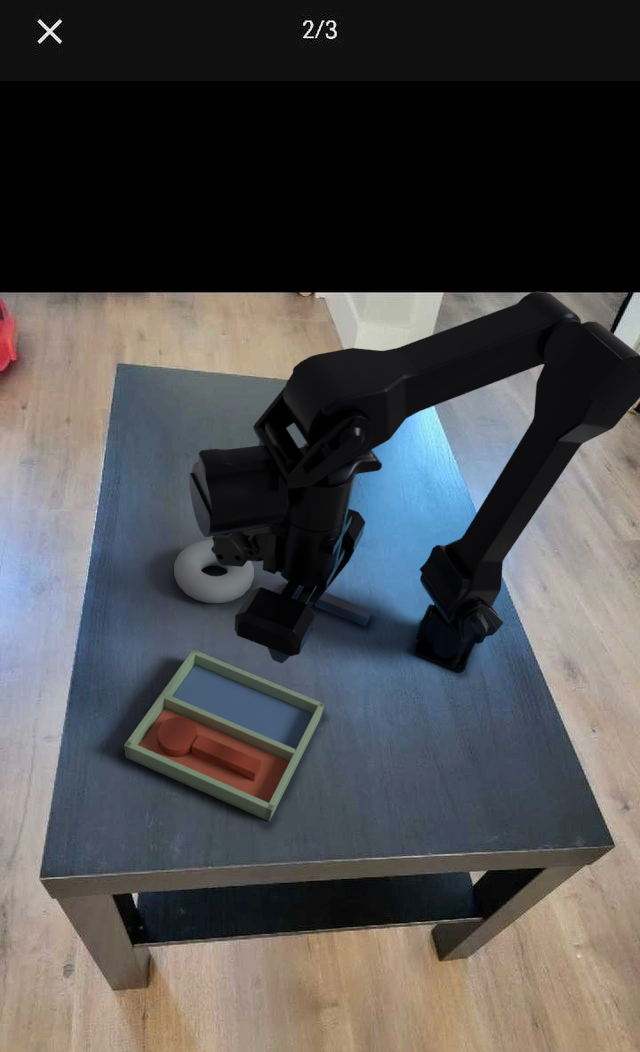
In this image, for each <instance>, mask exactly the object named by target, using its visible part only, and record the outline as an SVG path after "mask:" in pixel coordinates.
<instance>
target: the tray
mask: <svg viewBox="0 0 640 1052" xmlns="http://www.w3.org/2000/svg"><path fill="white" fill-rule="evenodd" d="M324 708H325V703H324V702H321V701H319V700H316V699H314V698H311V697H309V696H306V695H305V694H302V693H299V692H297V691H295V690H292V689H289V688H288V687H285V686H283V685H280V684H278V683H275V682H272V681H270V680H268V679H265V678H263V677H260V676H258V675H256V674H253V673H251V672H249V671H246V670H244V669H242V668H239V667H237V666H234V665H232V664H231V663H230V664H229V663H227V662H224V661H222V660H220V659H217V658H215V657H214V656H213V657H212V656H211V655H208V654H206V653H204V652H201V651H198V650H195V649H191V651H190V652H189V654H188V655H187V657H186V658H185V659H184V661H183V662H182V664H181V665H180V667H179V668H178V669H177V671H176V672H175V673H174V675H173V676H172V677H171V679H170V681H169V682H168V683H167V685H166V686H165V687H164V689H163V690H162V692H161V693H160V694H159V696H158V697H157V699H156V700H155V701H154V703H153V704H152V705H151V707H150V708H149V710H148V711H147V713H146V714H145V715H144V716H143V718H142V719H141V721H140V722H139V724H138V725H137V726H136V728H135V729H134V731H133V732H132V734H131V735H130V736H129V738H128V739H127V740H126V742H125V743H124V745H123V746H124V753H125V754H124V755H125V758H126V759H128V760H130V761H132V762H135V763H138V764H139V765H141V766H145V767H146V768H149V769H151V770H153V771H155V772H157V773H159V774H162V775H165V776H167V777H168V778H171V779H173V780H175V781H178V782H180V783H182V784H184V785H187V786H189V787H191V788H193V789H196V790H198V791H200V792H202V793H204V794H207V795H209V796H212V797H214V798H216V799H218V800H220V801H222V802H224V803H227V804H229V805H232V806H234V807H236V808H238V809H240V810H243V811H245V812H246V813H249V814H252V815H254V816H256V817H258V818H261V819H263V820H265V821H267V822H271V820H272V817H273V816H274V814H275V812H276V810H277V808H278V805H279V804H280V801H281V800H282V797H283V795H284V793H285V792H286V789H287V787H288V785H289V783H290V781H291V779H292V777H293V775H294V773H295V771H296V769H297V766H298V765H299V763H300V761H301V759H302V757H303V755H304V753H305V751H306V749H307V747H308V744H309V742H310V741H311V739H312V737H313V734H314V732H315V730H316V728H317V727H318V724H319V722H320V720H321V718H322V716H323V712H324ZM174 717H183V718H187V719H189V720H190V721H192V722H193V723H194V724H195V726H196V727H197V730H198V735H199V734H200V735H203V736H205V737H207V738H210V739H212V740H214V741H217V742H219V743H221V744H224V745H226V746H228V747H231V748H233V749H235V750H238V751H240V752H242V753H244V754H247V755H249V756H251V757H254V758H256V759H258V760H261V761H262V763H261V769H260V771H259V773H258V775H257V777H256V778H255V780H254V781H252V780H250V779H248V778H245V777H243V776H241V775H238V774H236V773H234V772H232V771H229V770H227V769H225V768H222V767H220V766H218V765H215V764H213V763H211V762H209V761H206V760H204V759H202V758H199V757H197V756H195V755H193V754H192V752H191V753H190V754H188V755H186V756H183V757H171V756H168V755H166V754H165V753H163V752H162V751H161V750H160V748H159V746H158V735H157V734H158V729H159V727H160V725H161V724H162V723H163V722H164V721H166V720H168V719H170V718H174Z"/></svg>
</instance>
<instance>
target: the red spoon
mask: <svg viewBox="0 0 640 1052" xmlns="http://www.w3.org/2000/svg"><path fill="white" fill-rule="evenodd" d="M157 735H158V746H159V748H160V750H161V751H162V752H163V753H165V754H166V755H168V756H171V757H183V756H186V755H188V754H190V753H191V752H192V754H193V755H195V756H197V757H199V758H202V759H204V760H206V761H209V762H211V763H213V764H215V765H218V766H220V767H222V768H225V769H227V770H229V771H232V772H234V773H236V774H238V775H241V776H243V777H245V778H248V779H250V780H252V781H254V780H255V778H256V777H257V775H258V773H259V771H260V769H261V763H262V761H261V760H258V759H256V758H254V757H251V756H249V755H247V754H244V753H242V752H240V751H238V750H235V749H233V748H231V747H228V746H226V745H224V744H221V743H219V742H217V741H214V740H212V739H210V738H207V737H205V736H203V735H200V734H199V735H198V730H197V727H196V726H195V724H194V723H193V722H192V721H190V720H189V719H187V718H183V717H174V718H170V719H168V720H166V721H164V722H163V723H162V724H161V725H160V727H159V729H158V734H157Z"/></svg>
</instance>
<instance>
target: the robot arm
mask: <svg viewBox="0 0 640 1052" xmlns="http://www.w3.org/2000/svg"><path fill="white" fill-rule="evenodd" d="M542 365H543V366H542ZM540 366H542V369H541V371H540V373H539V375H538V378H537V380H536V383H535V384H536V385H535V396H534V397H535V399H534V409H533V410H534V411H533V412H534V413H533V418H532V420H531V422H530V424H529V426H528V428H527V429H526V431H525V432H524V434H523V435H522V437H521V439H520V441H519V442H518V444H517V446H516V447H515V449H514V450H513V452H512V454H511V456H510V458H509V459H508V461H506V464H505V466H504V467H503V469H502V471H501V472H500V474H499V475H498V477H497V478H496V481H495V482H494V484H493V485H492V487H491V489H490V490H489V492H488V494H487V495H486V497H485V499H484V500H483V502H482V504H481V505H480V507H479V509H478V511H477V512H476V514H475V515H474V517H473V519H472V521H471V522H470V524H469V525H468V527H467V529H466V531H465V532H464V533H463V535H462V537H461V538H459V539H456V540H454V541H451V542H450V543H447V544H445V545H441V544H436V545H435V546H433V548H432V549H431V551H430V554H429V556H428V558H427V560H426V561H425V562H424V563H423V565H422V566H420V567H419V571H420V572H421V574H420V577H419V582H420V583H421V586H422V587H423V589H424V590H425V593H426V594H427V596H428V597H429V598H430V600H431V601H432V603H433V604H431V603H429V604H428V605H427V608H426V610H425V613H424V615H423V618H422V620H421V622H420V625H419V628H418V631H417V633H416V635H415V640H416V641H417V642H416V645H415V648H414V650H413V653H414V655H416V656H417V657H420V658H423V659H425V660H428V661H431V662H432V663H435V664H438V665H440V666H442V667H446V668H447V669H450V670H453V671H455V672H458V673H464V672H465V670H466V668H467V666H468V662H469V659H470V656H471V654H472V651H473V649H474V647H475V645H476V644H478V645H479V644H483V642H484V641H485V639H486V638H487V637H490V636H494V635H495V634H496V632H498V630H499V629H500V628H501V627H502V626H503V624H504V621H503V620H502V618H501V617H500V615H499V614H498V613H497V610H495V608H494V607H493V605H494V604H495V602H496V600H497V598H498V596H499V594H500V592H501V590H502V579H503V564H504V560H505V559H506V557H507V556H508V554H509V553H510V551H511V549H512V548H513V547H514V545H515V544H516V542H517V540H518V539H519V537H520V536H521V535H522V533H523V532H524V531H525V529H526V527H527V526H528V524H529V522H530V521H531V520H532V518H533V517H534V516H535V514H536V513H537V511H538V510H539V508H540V507H541V505H542V503H543V502H544V501H545V499H546V498H547V496H548V495H549V493H550V492H551V490H552V489H553V487H554V486H555V484H556V483H557V482H558V480H559V478H560V477H561V475H562V474H563V473H564V471H565V469H566V468H567V466H568V465H569V463H570V462H571V461H572V459H573V458H574V456H575V455H576V453H577V451H578V450H579V449H580V447H581V446H582V445H583V444H584V443H586V442H589V441H590V440H593V439H594V438H597V437H599V436H600V435H603V434H605V433H607V432H608V431H610V430H613V429H614V428H615V427H616V426H617V425H618V423H619V422H620V421H621V420H622V419H623V418H624V416H625V415H626V414H627V412H628V411H629V410H630V409H631V408H632V407H633V406H635V404H636V403H637V402H638V401H639V399H640V354H639V353H638V352H637V351H636V350H634V349H633V348H632V347H631V346H629V345H628V344H627V343H625V342H624V341H623V340H621V339H620V338H619V337H618V336H616V335H615V334H614V333H613V332H612V331H610V330H609V329H608V328H607V327H605V326H604V325H602V323H599V322H597V321H590V320H589V321H585V322H582V320H581V318H580V316H578V314H577V313H576V312H574V311H573V310H572V309H571V308H569V307H568V306H567V305H566V304H565V303H563V302H562V301H561V300H559V299H558V298H556V296H554V295H553V294H552V293H549V292H546V291H540V290H539V291H531V292H530V293H528V294H526V295H524V296H523V297H522V298H521V299H520V300H519V301H518V302H517V303H514V304H512V305H510V306H506V307H504V308H501V309H499V310H496V311H494V312H491V313H488V314H485V315H483V316H479V317H477V318H475V319H471V320H469V321H466V322H464V323H461V324H458V325H456V326H452V327H450V328H448V329H445V330H442V331H439V332H436V333H434V334H431V335H428V336H426V337H423V338H421V339H418V340H414V341H412V342H410V343H407V344H404V345H402V346H399V347H396V348H395V347H394V348H390V349H385V350H384V349H383V350H377V349H369V348H357V347H348V348H345V349H344V348H343V349H338V350H333V351H329V352H322V353H318V354H317V353H316V354H314V355H310V356H309V357H307V358H305V359H303V360H301V361H300V362H298V363H297V364H296V365H295V366H294V367H293V368H292V373H291V374H290V376H289V377H288V379H287V381H286V384H285V386H283V388H282V390H281V391H280V392H279V393H278V395H277V396H275V398H274V399H273V401H272V402H271V403H270V404H269V406H268V407H267V408H266V409H265V410H264V412H263V413H262V414H261V416H260V417H259V418H258V420H256V422H255V423H254V425H253V427H252V429H253V431H254V433H255V435H256V437H257V438H258V445H253V446H245V447H238V448H237V447H236V448H229V449H226V448H225V449H221V448H210V449H202V450H199V452H198V461H196V462H195V463H193V465H192V469H191V472H189V475H188V476H189V477H188V478H189V479H188V480H189V492H190V498H191V504H192V509H193V514H194V517H195V520H196V523H197V526H198V528H199V531H200V532H201V534H202V536H203V537H205V538H208V537H212V539H211V540H213V542H214V545H213V547H212V548H211V550H212V552H213V553H214V554H215V556H216V559H217V561H218V562H219V563H220V564H222V565H224V566H237V567H243V566H244V565H245V563H246V562H247V561H251V562H262V571H264V572H266V573H269V574H272V575H276V574H277V572H278V573H280V576H281V577H282V578H283V579H284V580H286V581H287V583H286V584H285V586H284V588H283V590H282V591H281V593H278V592H276V591H273V590H271V589H269V588H266V587H263V586H261V587H257V588H255V589H252V590H250V592H249V594H248V596H246V598H245V599H244V601H243V603H242V604H241V605H240V607H239V608H238V610H237V612H236V613H235V615H234V627H233V628H234V631H235V634H236V636H237V637H239V638H242V639H244V640H247V641H249V642H252V643H255V644H258V645H260V646H263V647H266V648H267V650H268V652H269V655H270V658H271V659H272V660H273V661H274V662H277V663H280V664H283V663H285V662H286V661H287V660H288V659H289V658H291V657H294V656H297V655H300V654H301V652H302V650H303V648H304V647H305V645H306V643H307V641H308V640H309V637H310V636H311V634H312V632H313V627H314V624H315V620H316V613H315V611H314V610H312V607H309V606H308V604H307V603H308V601H310V602H312V603H316V602H317V601H318V599H319V598H320V597H321V596H322V595H323V593H324V592H327V590H328V589H329V587H330V586H331V585H332V584H333V582H334V581H335V579H336V578H338V576H339V575H340V573H341V572H342V571H343V570H344V569H345V567H346V566H347V565H348V563H350V560H351V558H352V557H353V555H354V553H355V551H356V549H357V547H358V545H359V543H360V541H361V539H362V537H363V535H364V531H365V526H366V520H365V519H364V518H363V516H362V515H361V513H360V512H359V511H357V510H355V509H351V508H350V504H351V500H352V499H351V498H352V494H353V489H354V485H355V480H356V476H357V475H360V474H365V473H372V472H373V473H374V472H378V471H381V469H382V468H383V464H382V462H381V461H380V459H379V458H378V456H377V455H376V453H374V451H373V449H375V448H377V447H379V446H381V445H383V444H384V443H386V442H388V441H389V440H391V438H393V436H394V435H395V433H396V432H397V431H398V430H399V428H400V427H401V426H402V425H403V423H404V422H405V421H406V419H408V418H410V417H412V416H413V415H416V414H417V413H420V412H421V411H425V410H427V409H430V408H432V407H435V406H437V405H440V404H442V403H445V402H448V401H451V400H453V399H455V398H459V397H462V396H464V395H467V394H468V393H471V392H474V391H477V390H480V389H482V388H485V387H487V386H490V385H492V384H494V383H498V382H500V381H502V380H505V379H508V378H510V377H513V376H515V375H518V374H521V373H523V372H526V371H528V370H531V369H534V368H537V367H540ZM293 424H294V426H295V427H296V429H297V431H298V432H299V434H300V435H301V437H302V438H303V440H304V442H305V444H304V445H303V446H301V447H299V446H298V444H297V443H296V441H295V440H294V438H293V437H292V435H291V433H290V432H289V430H288V429H287V428H288V427H290V426H291V425H293ZM302 587H303V588H302ZM301 589H302V591H301ZM299 592H300V594H299ZM298 594H299V596H298ZM297 596H298V597H297ZM296 598H297V599H296ZM295 599H296V600H295Z"/></svg>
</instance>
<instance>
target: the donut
mask: <svg viewBox="0 0 640 1052" xmlns="http://www.w3.org/2000/svg"><path fill="white" fill-rule="evenodd" d="M213 545H214V542H213V539H206V540H200V541H196V542H194V543H192V544H189V545H187V546H186V547H185V548H183V550H181V551H180V552H179V554H178V556H177V558H176V559H175V561H174V566H173V568H174V570H173V575H174V578H175V581H176V583H177V586H178V587H179V588H180V589H181V590H182V592H183V593H185V595H187V596H189V597H191V598H193V599H194V600H196V601H199V602H203V603H207V604H224V603H225V604H226V603H229V602H233V601H235V600H237V599H239V598H241V597H243V595H244V594H245V593H247V592H248V591H249V589H250V588H251V586H252V583H253V581H254V578H255V567H254V564H253V561H247V562H246V563H245V565H244V566H243V567H237V566H224V565H222V564H220V563H219V562H218V561H217V559H216V556H215V554H214V553H213V552H212V550H211V548H212V547H213ZM206 567H219V568H222V569H224V570H225V571H226V573H224V574H222V575H210V574H207V573H204V572H203V571H202V570H203V569H205V568H206Z"/></svg>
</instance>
